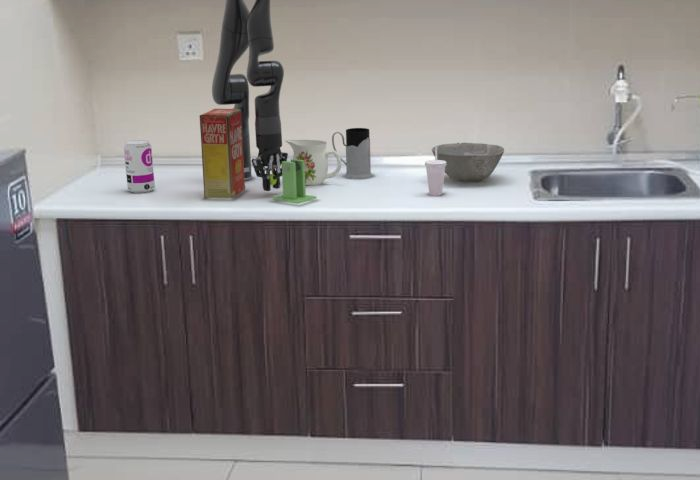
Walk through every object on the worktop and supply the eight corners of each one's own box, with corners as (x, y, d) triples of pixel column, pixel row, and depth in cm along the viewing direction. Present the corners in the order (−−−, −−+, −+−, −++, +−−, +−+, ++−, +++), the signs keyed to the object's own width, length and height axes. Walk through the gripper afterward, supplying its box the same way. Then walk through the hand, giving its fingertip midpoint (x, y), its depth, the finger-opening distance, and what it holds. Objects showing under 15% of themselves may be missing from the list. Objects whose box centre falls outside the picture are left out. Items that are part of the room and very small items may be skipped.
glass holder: (362, 179, 313) (361, 132, 308) (325, 175, 320) (324, 129, 315) (377, 174, 320) (376, 128, 315) (340, 170, 327) (339, 125, 322)
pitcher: (336, 190, 299) (334, 145, 295) (280, 187, 304) (278, 143, 300) (347, 182, 309) (345, 139, 305) (293, 180, 314) (291, 137, 310)
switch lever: (265, 188, 289) (261, 177, 289) (273, 186, 292) (268, 175, 292) (294, 171, 281) (290, 160, 281) (302, 169, 283) (297, 158, 283)
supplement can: (160, 188, 306) (156, 140, 301) (144, 194, 298) (139, 145, 294) (139, 186, 309) (134, 139, 304) (122, 192, 302) (117, 143, 297)
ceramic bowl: (486, 190, 294) (486, 157, 291) (418, 183, 306) (418, 151, 303) (516, 177, 312) (516, 145, 309) (451, 170, 324) (451, 140, 321)
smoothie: (448, 192, 293) (449, 145, 289) (443, 197, 287) (443, 149, 283) (428, 191, 295) (428, 144, 291) (422, 195, 289) (422, 148, 285)
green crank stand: (272, 201, 286) (270, 161, 282) (290, 196, 292) (288, 157, 288) (299, 205, 280) (297, 165, 277) (316, 200, 286) (315, 160, 283)
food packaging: (233, 200, 288) (228, 114, 281) (202, 199, 290) (196, 114, 282) (246, 190, 301) (242, 108, 293) (217, 189, 302) (211, 108, 295)
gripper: (274, 127, 293) (277, 184, 298) (242, 133, 282) (245, 192, 287) (294, 128, 288) (296, 186, 293) (261, 135, 278) (265, 195, 283)
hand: (271, 189), depth 290 cm, fingers closed on switch lever, 3 cm apart
